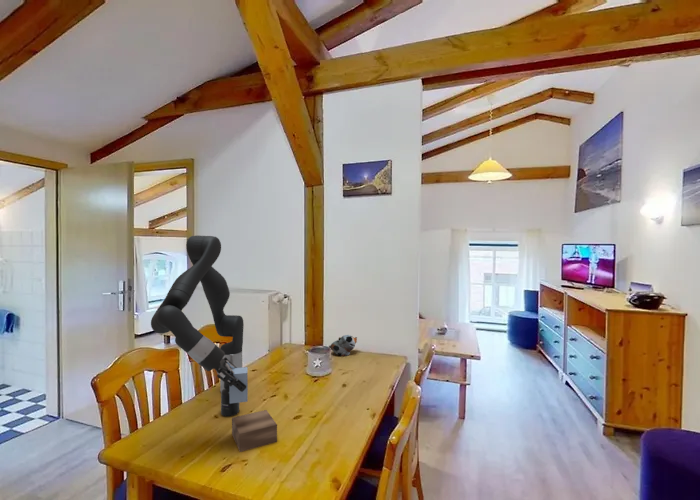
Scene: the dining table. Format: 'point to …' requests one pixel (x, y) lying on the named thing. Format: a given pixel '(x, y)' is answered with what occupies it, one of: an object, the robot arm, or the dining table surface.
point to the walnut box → (254, 430)
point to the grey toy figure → (343, 345)
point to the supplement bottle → (228, 403)
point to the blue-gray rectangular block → (236, 394)
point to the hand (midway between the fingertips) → (244, 385)
